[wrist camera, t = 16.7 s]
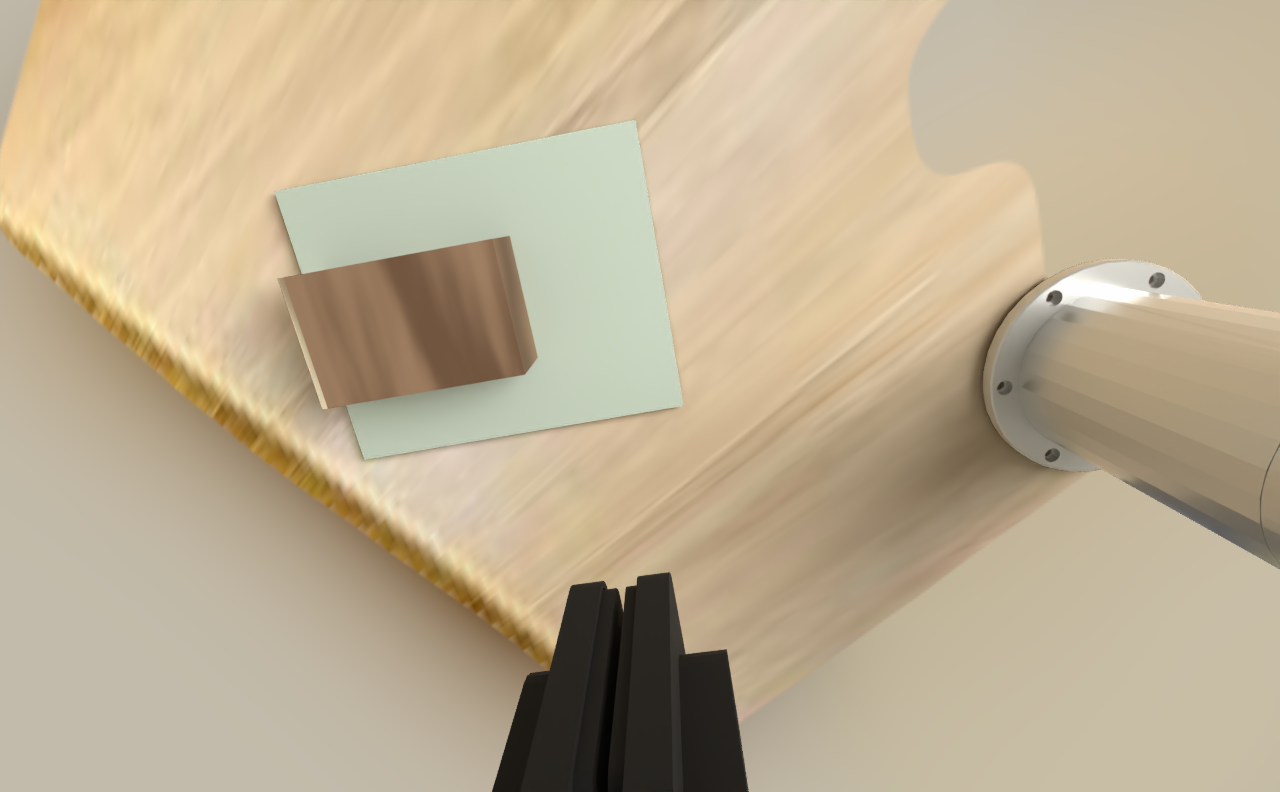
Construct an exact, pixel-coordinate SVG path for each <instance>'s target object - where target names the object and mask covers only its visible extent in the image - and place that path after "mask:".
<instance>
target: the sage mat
mask: <svg viewBox="0 0 1280 792" xmlns="http://www.w3.org/2000/svg"><path fill="white" fill-rule="evenodd" d="M275 195H276V198H277V201H278V204H279V207H280V210H281V213H282V216H283V219H284V222H285V225H286V228H287V231H288V234H289V237H290V240H291V243H292V246H293V249H294V252H295V255H296V258H297V261H298V264H299V267H300V270H301V273H302V274H305V273H311V272H316V271H321V270H327V269H332V268H338V267H343V266H348V265H354V264H359V263H365V262H370V261H375V260H381V259H386V258H391V257H397V256H402V255H408V254H413V253H418V252H424V251H429V250H435V249H440V248H445V247H451V246H456V245H461V244H467V243H472V242H478V241H483V240H488V239H494V238H500V237H506V236H510V239H511V243H512V248H513V252H514V256H515V261H516V265H517V269H518V274H519V278H520V282H521V287H522V291H523V295H524V300H525V304H526V308H527V313H528V317H529V321H530V326H531V330H532V334H533V339H534V343H535V347H536V352H537V356H538V358H537V359H536V361H535V362H534V363H533V365H532V366H531V367H530V369H529V370H528V371H527V373H526V374H525V375H521V376H515V377H509V378H503V379H497V380H491V381H486V382H480V383H474V384H468V385H462V386H456V387H451V388H445V389H439V390H433V391H427V392H421V393H416V394H410V395H404V396H398V397H392V398H386V399H381V400H375V401H369V402H363V403H357V404H351V405H346V407H347V410H348V413H349V416H350V419H351V422H352V425H353V428H354V431H355V434H356V437H357V440H358V443H359V446H360V449H361V452H362V455H363V458H364V460H367V459H373V458H379V457H384V456H390V455H396V454H402V453H408V452H414V451H420V450H426V449H432V448H438V447H443V446H449V445H455V444H461V443H467V442H473V441H479V440H485V439H491V438H497V437H502V436H508V435H514V434H520V433H526V432H532V431H538V430H544V429H550V428H556V427H562V426H567V425H573V424H579V423H585V422H591V421H597V420H603V419H609V418H615V417H621V416H626V415H632V414H638V413H644V412H650V411H656V410H662V409H668V408H674V407H680V406H684V404H683V398H682V393H681V387H680V381H679V375H678V369H677V363H676V357H675V351H674V345H673V339H672V333H671V327H670V321H669V316H668V310H667V304H666V298H665V292H664V286H663V280H662V274H661V268H660V262H659V256H658V250H657V244H656V239H655V233H654V227H653V221H652V215H651V209H650V203H649V197H648V191H647V185H646V179H645V173H644V167H643V162H642V156H641V150H640V144H639V138H638V132H637V126H636V120H631V121H626V122H621V123H616V124H611V125H606V126H601V127H596V128H591V129H586V130H581V131H576V132H571V133H566V134H561V135H556V136H551V137H546V138H541V139H536V140H531V141H526V142H521V143H516V144H511V145H506V146H501V147H496V148H491V149H486V150H481V151H476V152H471V153H466V154H461V155H456V156H451V157H446V158H441V159H436V160H431V161H426V162H421V163H416V164H410V165H405V166H400V167H395V168H390V169H385V170H380V171H375V172H370V173H365V174H360V175H355V176H350V177H345V178H340V179H335V180H330V181H325V182H320V183H315V184H310V185H305V186H300V187H295V188H290V189H285V190H280V191H275Z"/></svg>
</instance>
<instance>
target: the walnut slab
mask: <svg viewBox="0 0 1280 792" xmlns="http://www.w3.org/2000/svg"><path fill="white" fill-rule="evenodd" d="M278 282H279V284H280V287H281V290H282V293H283V296H284V299H285V302H286V305H287V308H288V311H289V314H290V316H291V319H292V322H293V325H294V328H295V331H296V334H297V337H298V340H299V343H300V346H301V348H302V351H303V354H304V357H305V360H306V363H307V366H308V369H309V372H310V375H311V377H312V380H313V383H314V386H315V389H316V392H317V395H318V398H319V401H320V404H321V407H322V409H328V408H334V407H340V406H346V405H351V404H357V403H363V402H369V401H375V400H381V399H386V398H392V397H398V396H404V395H410V394H416V393H421V392H427V391H433V390H439V389H445V388H451V387H456V386H462V385H468V384H474V383H480V382H486V381H491V380H497V379H503V378H509V377H515V376H521V375H525V374H526V373H527V371H528V370H529V369H530V367H531V366H532V365H533V363H534V362H535V361H536V359H537V358H538V356H537V352H536V347H535V343H534V339H533V334H532V330H531V326H530V321H529V317H528V313H527V308H526V304H525V300H524V295H523V291H522V287H521V282H520V278H519V274H518V269H517V265H516V261H515V256H514V252H513V248H512V243H511V239H510V236H506V237H500V238H494V239H488V240H483V241H478V242H472V243H467V244H461V245H456V246H451V247H445V248H440V249H435V250H429V251H424V252H418V253H413V254H408V255H402V256H397V257H391V258H386V259H381V260H375V261H370V262H365V263H359V264H354V265H348V266H343V267H338V268H332V269H327V270H321V271H316V272H311V273H305V274H300V275H295V276H289V277H284V278H278Z"/></svg>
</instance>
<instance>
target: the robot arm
mask: <svg viewBox="0 0 1280 792" xmlns="http://www.w3.org/2000/svg"><path fill="white" fill-rule="evenodd" d="M1047 295H1048V297H1047ZM998 385H999V386H998ZM983 395H984V400H985V406H986V410H987V412H988V415H989V417H990V419H991V422H992V424H993V426H994V427H995V429H996V430H997V432H998V433H999V434H1000V436H1001V437H1002V438H1003V440H1004V441H1006V442H1007V443H1008V444H1009V445H1010V446H1011V447H1012V448H1014V449H1015V450H1016V451H1017V452H1019V453H1021V454H1022V455H1024V456H1026V457H1027V458H1029V459H1030V460H1032V461H1034V462H1036V463H1038V464H1041V465H1043V466H1045V467H1048V468H1053V469H1058V470H1063V471H1076V472H1088V471H1095V470H1101V469H1102V470H1104V471H1106V472H1108V473H1109V474H1111V475H1113V476H1114V477H1116V478H1118V479H1120V480H1122V481H1123V482H1125V483H1127V484H1129V485H1130V486H1132V487H1134V488H1136V489H1138V490H1139V491H1141V492H1143V493H1145V494H1146V495H1149V496H1150V497H1152V498H1154V499H1155V500H1157V501H1159V502H1161V503H1163V504H1164V505H1166V506H1168V507H1170V508H1172V509H1173V510H1175V511H1177V512H1179V513H1180V514H1182V515H1184V516H1186V517H1187V518H1189V519H1191V520H1193V521H1195V522H1196V523H1198V524H1200V525H1202V526H1204V527H1205V528H1207V529H1209V530H1211V531H1212V532H1214V533H1216V534H1218V535H1220V536H1221V537H1223V538H1225V539H1227V540H1228V541H1230V542H1232V543H1234V544H1236V545H1237V546H1239V547H1241V548H1243V549H1244V550H1246V551H1248V552H1250V553H1252V554H1253V555H1255V556H1257V557H1259V558H1260V559H1262V560H1264V561H1266V562H1268V563H1269V564H1271V565H1273V566H1275V567H1276V568H1278V569H1280V313H1279V312H1272V311H1266V310H1259V309H1253V308H1246V307H1240V306H1234V305H1228V304H1221V303H1215V302H1208V301H1203V299H1202V297H1201V295H1200V294H1199V292H1197V290H1196V289H1195V288H1194V287H1193V286H1192V285H1191V284H1190V283H1189V282H1188V281H1187V280H1186V279H1185V278H1183V277H1182V276H1180V275H1178V274H1176V273H1175V272H1173V271H1172V270H1170V269H1169V268H1166V267H1163V266H1160V265H1157V264H1154V263H1151V262H1146V261H1138V260H1130V259H1103V260H1097V261H1091V262H1086V263H1082V264H1079V265H1076V266H1074V267H1071V268H1068V269H1066V270H1063V271H1061V272H1059V273H1057V274H1055V275H1054V276H1052V277H1050V278H1048V279H1046V280H1045V281H1043V282H1041V283H1040V284H1039V285H1038V286H1036V287H1035V288H1034V289H1033V290H1031V291H1030V292H1029V293H1028V294H1026V295H1025V296H1024V297H1023V298H1022V299H1021V300H1020V301H1019V302H1018V303H1017V305H1016V306H1015V307H1014V308H1013V309H1012V310H1011V311H1010V312H1009V313H1008V315H1007V316H1006V318H1005V319H1004V321H1003V322H1002V324H1001V326H1000V327H999V329H998V330H997V332H996V334H995V336H994V339H993V341H992V343H991V346H990V348H989V350H988V353H987V358H986V362H985V366H984V371H983ZM492 792H749V791H748V785H747V778H746V772H745V764H744V758H743V751H742V745H741V738H740V731H739V725H738V718H737V712H736V705H735V699H734V692H733V686H732V680H731V673H730V667H729V661H728V655H727V649H726V650H718V651H709V652H701V653H693V654H685V649H684V643H683V638H682V632H681V627H680V621H679V616H678V610H677V605H676V599H675V594H674V588H673V583H672V578H671V574H670V572H668V573H660V574H653V575H645V576H638V578H637V586H630V587H626V592H625V602H624V612H623V608H622V604H621V599H620V595H619V591H618V589H617V588H614V589H607V586H606V584H605V582H604V581H600V582H592V583H585V584H577V585H572V586H571V588H570V591H569V595H568V599H567V603H566V607H565V611H564V615H563V619H562V623H561V627H560V631H559V635H558V640H557V644H556V648H555V652H554V656H553V660H552V664H551V668H550V671H544V672H535V673H530V674H529V675H528V676H527V678H526V680H525V682H524V685H523V689H522V692H521V695H520V699H519V702H518V705H517V709H516V712H515V716H514V719H513V722H512V726H511V729H510V733H509V736H508V739H507V743H506V746H505V750H504V753H503V756H502V760H501V763H500V767H499V770H498V774H497V777H496V780H495V783H494V787H493V790H492Z"/></svg>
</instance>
